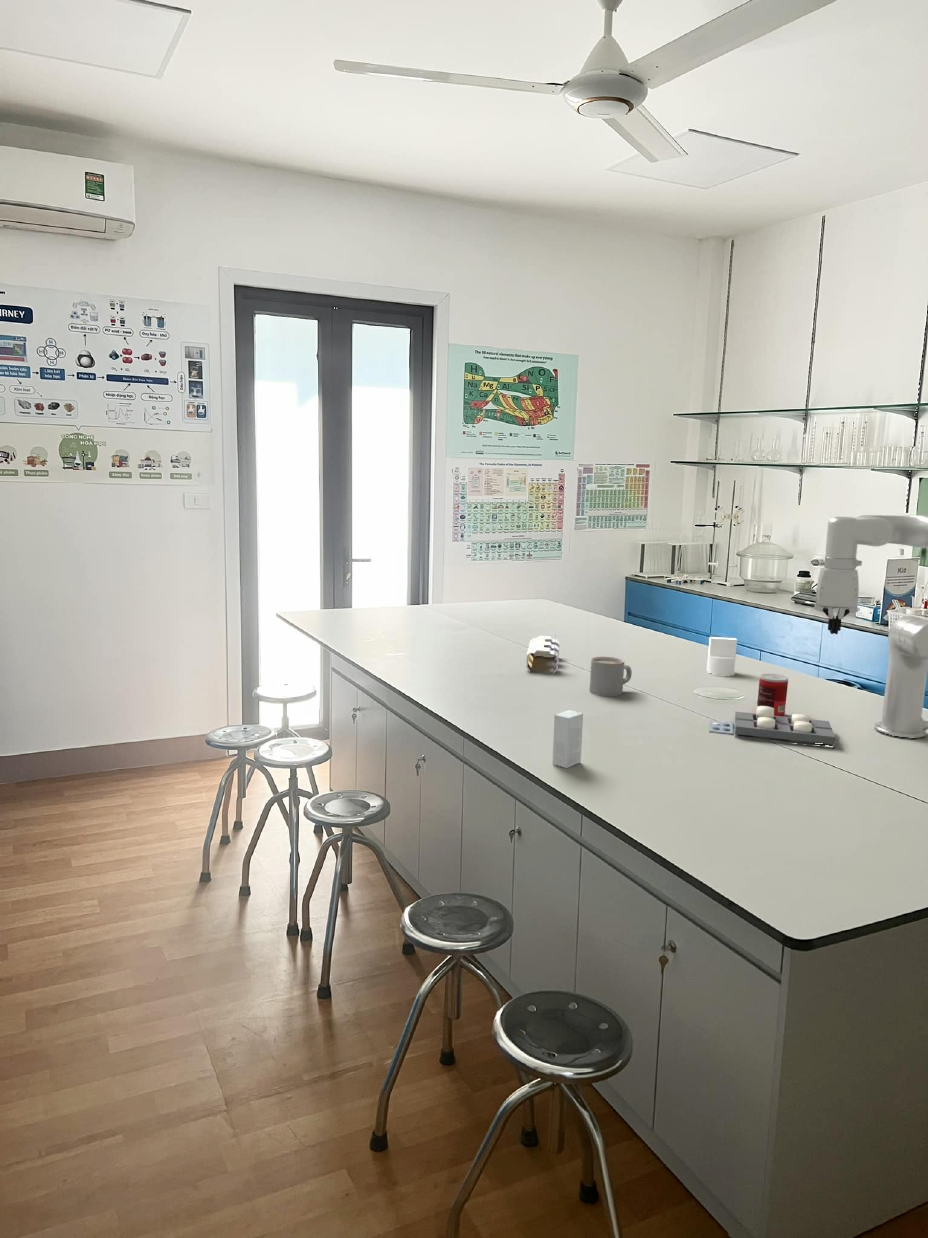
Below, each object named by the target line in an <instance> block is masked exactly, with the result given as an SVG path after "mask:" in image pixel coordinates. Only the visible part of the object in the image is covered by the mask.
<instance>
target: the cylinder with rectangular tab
mask: <svg viewBox="0 0 928 1238" xmlns="http://www.w3.org/2000/svg"><path fill="white" fill-rule="evenodd" d="M737 644H738V639H737V638H736V637H722V636H721V637H720V636H719V637H718V636H717V637H716V636H709V639H708V652H707V663H706V672H707V671H708V673H707V674H709V673H712V674H716V675H715V676H717V675H732V674H734V675H735V666H736V657H737V647H738V645H737ZM712 674H711V675H712ZM732 676H733V675H732Z"/></svg>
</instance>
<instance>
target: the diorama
mask: <svg viewBox="0 0 928 1238" xmlns="http://www.w3.org/2000/svg"><path fill="white" fill-rule="evenodd" d="M556 637H557V634H556V633H554V638H553V636H549V635H548V636H547V635H539V636H537V637H533V638H532V639H530V641H529V644H528V649H527V653H526V665H525V666H526V669H527V670H528V673H531V670H532V665H533V662H534V657H536V656H546V657H545V658H553V657H555V658H554V662H553V667H554V668H553V671H552V673H553V674H555V672H557V671H558V667H559V655H560V641H559V640H558V639H556ZM555 660H556V661H555Z"/></svg>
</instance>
